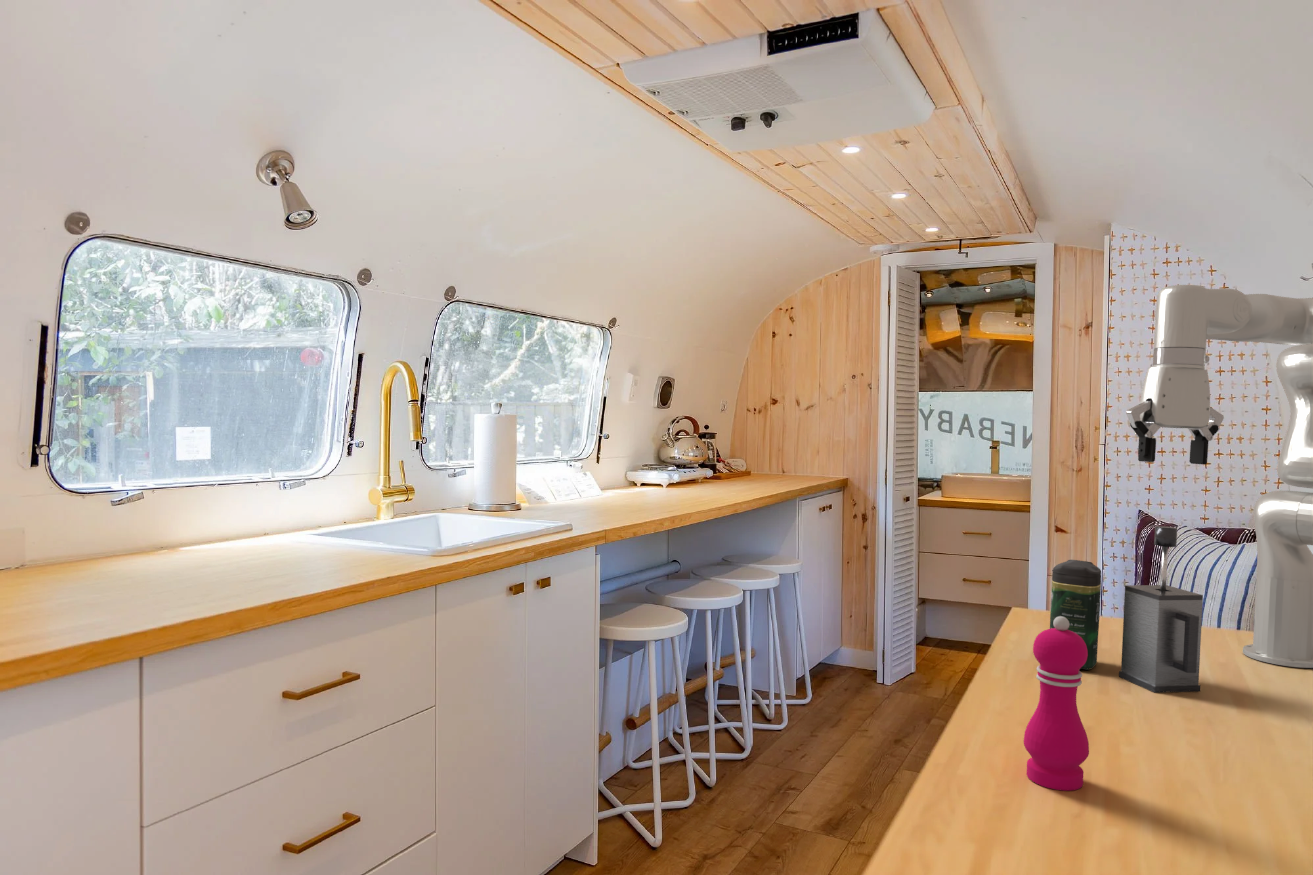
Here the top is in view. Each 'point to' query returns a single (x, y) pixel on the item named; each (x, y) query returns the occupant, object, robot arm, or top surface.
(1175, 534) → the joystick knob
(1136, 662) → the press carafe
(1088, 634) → the coffee jar
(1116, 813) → the top surface
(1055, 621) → the pepper mill
